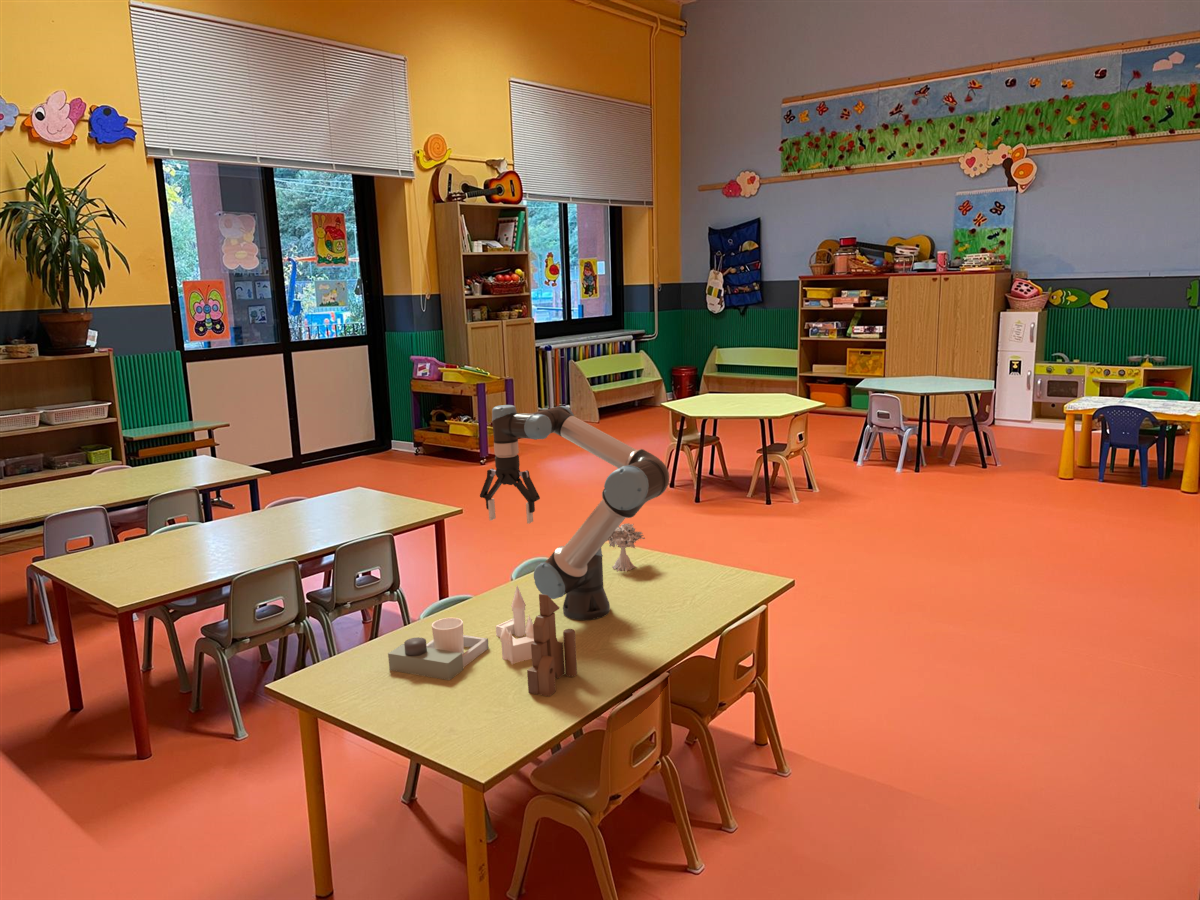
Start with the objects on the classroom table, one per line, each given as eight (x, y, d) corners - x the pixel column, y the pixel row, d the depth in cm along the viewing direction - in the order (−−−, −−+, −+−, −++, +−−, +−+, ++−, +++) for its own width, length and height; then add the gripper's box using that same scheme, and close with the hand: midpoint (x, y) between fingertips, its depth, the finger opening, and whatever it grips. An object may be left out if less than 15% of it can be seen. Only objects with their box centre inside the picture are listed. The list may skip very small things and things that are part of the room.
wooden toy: (549, 697, 230) (544, 606, 225) (528, 692, 233) (522, 602, 228) (579, 673, 243) (574, 586, 238) (558, 669, 246) (553, 583, 241)
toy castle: (521, 625, 278) (518, 577, 275) (554, 654, 256) (551, 601, 253) (477, 636, 272) (474, 586, 268) (508, 666, 250) (504, 611, 247)
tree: (631, 578, 317) (629, 533, 313) (593, 572, 325) (590, 528, 321) (654, 563, 332) (652, 520, 328) (617, 557, 340) (615, 516, 337)
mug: (454, 665, 251) (451, 631, 249) (428, 661, 255) (425, 627, 253) (475, 650, 261) (472, 617, 259) (450, 646, 265) (447, 613, 263)
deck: (490, 648, 262) (489, 622, 260) (449, 680, 242) (447, 652, 240) (434, 639, 270) (432, 615, 268) (389, 670, 250) (387, 643, 248)
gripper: (548, 454, 274) (551, 520, 278) (478, 451, 284) (483, 515, 288) (536, 459, 267) (540, 527, 271) (466, 455, 277) (471, 521, 281)
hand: (511, 521), depth 280 cm, fingers open, 13 cm apart
